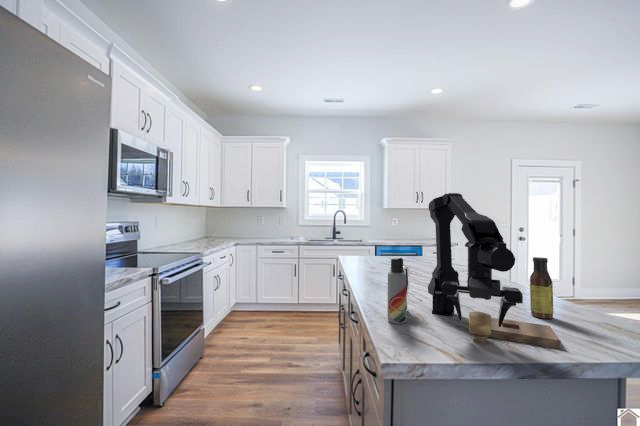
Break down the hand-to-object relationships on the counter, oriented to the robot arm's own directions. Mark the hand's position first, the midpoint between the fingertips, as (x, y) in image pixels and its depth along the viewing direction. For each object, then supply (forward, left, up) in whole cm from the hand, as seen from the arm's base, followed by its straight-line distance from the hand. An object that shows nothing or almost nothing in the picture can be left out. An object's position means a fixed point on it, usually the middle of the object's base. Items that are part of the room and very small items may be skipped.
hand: (479, 323), depth 79 cm
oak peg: (0, 0, -4) cm, 4 cm away
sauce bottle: (+19, +33, -4) cm, 38 cm away
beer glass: (-25, +17, -4) cm, 31 cm away
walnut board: (+8, +10, -4) cm, 13 cm away
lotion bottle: (-23, +4, -4) cm, 24 cm away
